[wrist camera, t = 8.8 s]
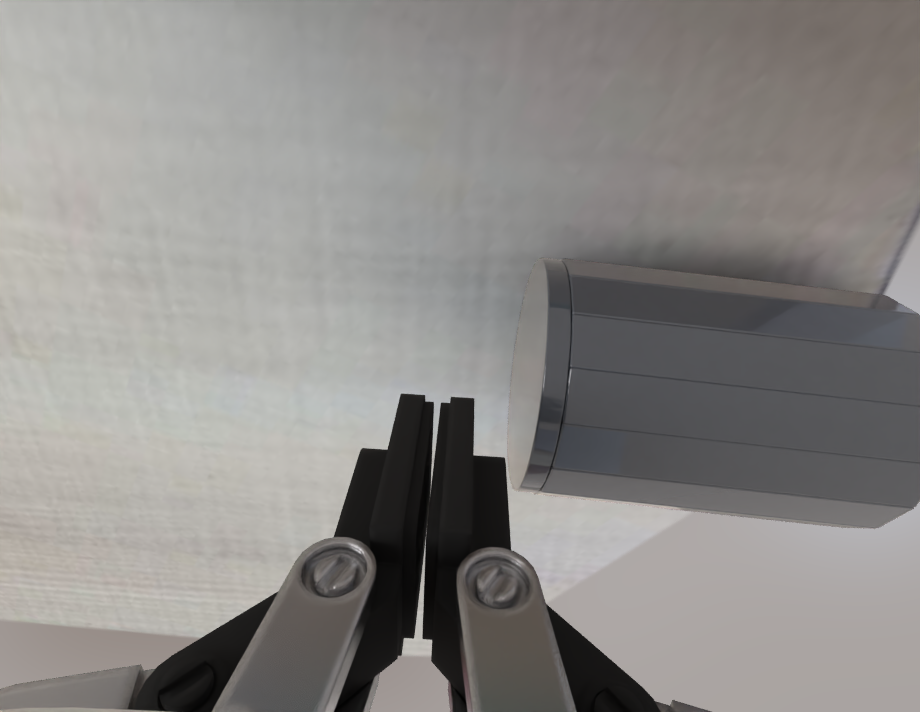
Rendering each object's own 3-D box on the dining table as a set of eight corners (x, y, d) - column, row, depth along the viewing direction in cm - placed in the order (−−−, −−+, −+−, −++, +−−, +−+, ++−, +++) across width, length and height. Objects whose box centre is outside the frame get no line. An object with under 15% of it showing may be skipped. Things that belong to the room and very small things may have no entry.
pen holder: (512, 544, 15) (865, 582, 15) (559, 315, 12) (1014, 366, 12) (504, 405, 21) (755, 432, 21) (534, 229, 18) (831, 263, 18)
